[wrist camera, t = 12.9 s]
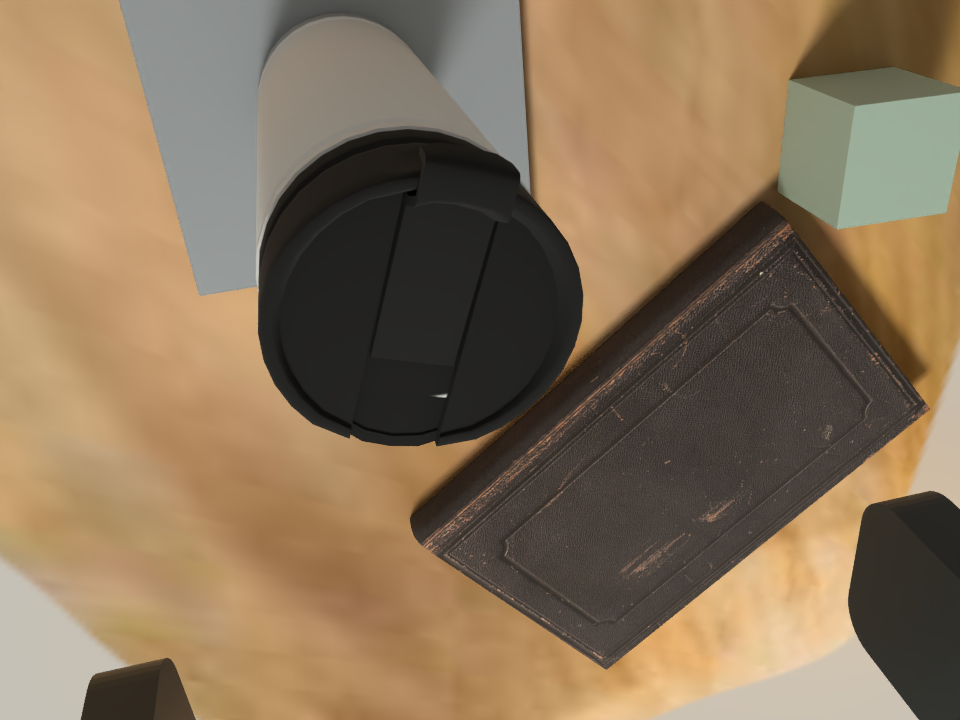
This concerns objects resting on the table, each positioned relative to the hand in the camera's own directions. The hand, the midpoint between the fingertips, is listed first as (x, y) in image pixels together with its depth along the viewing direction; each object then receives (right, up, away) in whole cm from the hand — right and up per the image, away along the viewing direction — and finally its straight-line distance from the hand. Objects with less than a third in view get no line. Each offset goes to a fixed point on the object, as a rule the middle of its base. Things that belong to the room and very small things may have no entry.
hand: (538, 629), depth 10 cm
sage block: (+15, +13, +29) cm, 36 cm away
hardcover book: (+9, -2, +37) cm, 38 cm away
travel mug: (-6, +13, +23) cm, 27 cm away
